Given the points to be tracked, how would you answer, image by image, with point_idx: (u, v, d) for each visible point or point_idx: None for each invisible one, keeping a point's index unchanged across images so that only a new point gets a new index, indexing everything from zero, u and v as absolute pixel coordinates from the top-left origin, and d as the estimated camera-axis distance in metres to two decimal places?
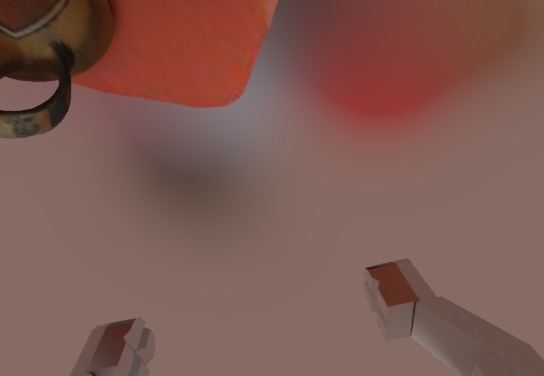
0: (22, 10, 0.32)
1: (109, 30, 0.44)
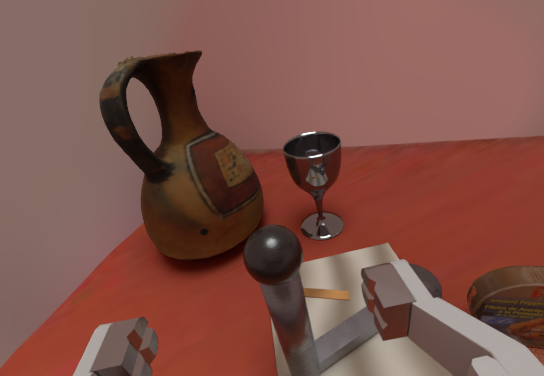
0: (203, 159, 0.38)
1: (169, 242, 0.39)
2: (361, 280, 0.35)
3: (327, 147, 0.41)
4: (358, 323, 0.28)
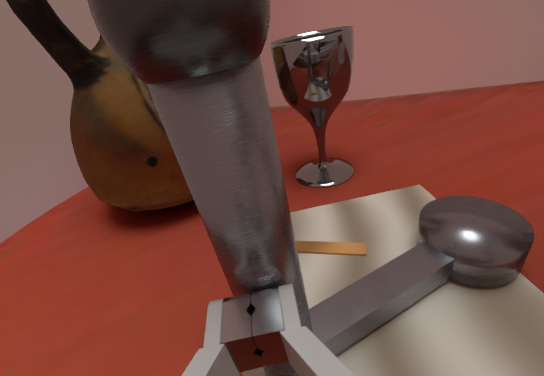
0: None
1: (103, 178, 0.27)
2: (384, 229, 0.23)
3: None
4: (386, 282, 0.16)
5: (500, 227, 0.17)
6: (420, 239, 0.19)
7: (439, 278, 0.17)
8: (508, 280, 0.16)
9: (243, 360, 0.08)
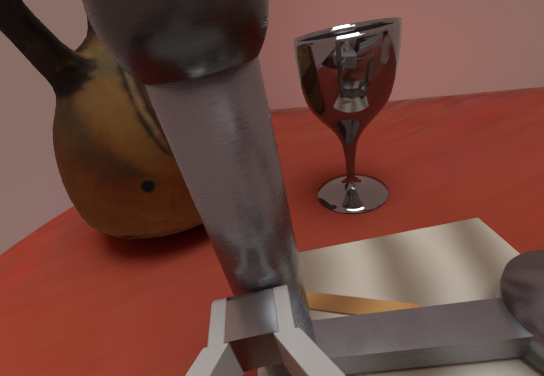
0: None
1: (91, 205, 0.23)
2: (441, 283, 0.17)
3: None
4: (422, 327, 0.13)
5: None
6: (497, 293, 0.15)
7: (501, 350, 0.13)
8: None
9: (247, 359, 0.08)
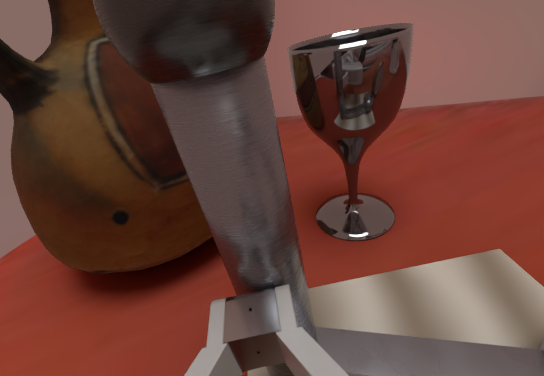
0: (121, 67, 0.18)
1: (55, 238, 0.19)
2: (466, 336, 0.15)
3: None
4: (436, 362, 0.12)
5: None
6: (541, 344, 0.12)
7: None
8: None
9: (246, 359, 0.08)
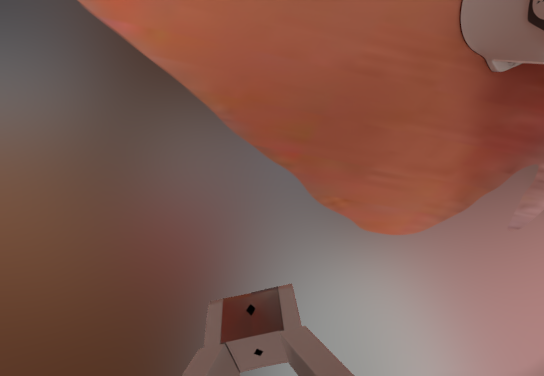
0: None
1: None
2: None
3: None
4: None
5: None
6: None
7: None
8: None
9: (243, 360, 0.08)
